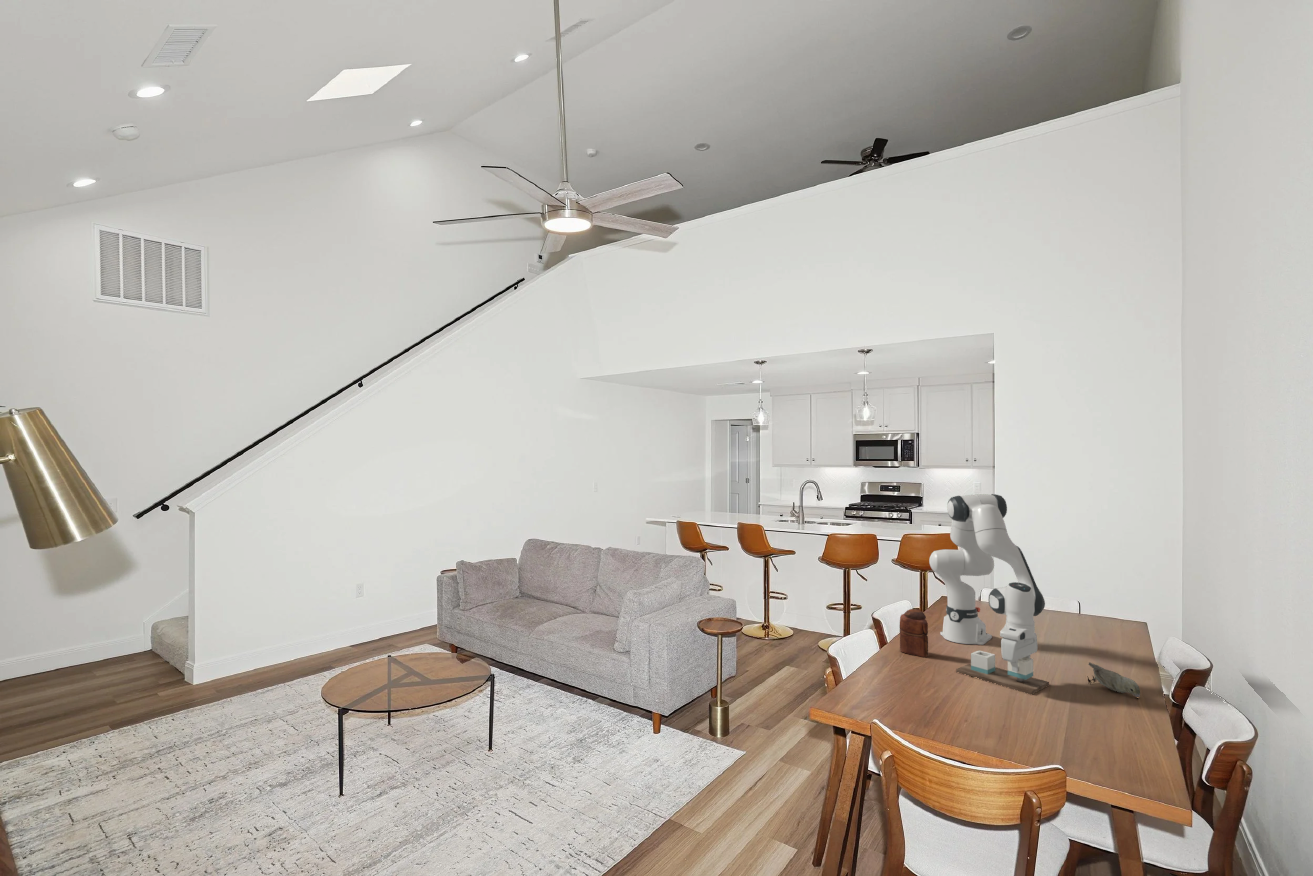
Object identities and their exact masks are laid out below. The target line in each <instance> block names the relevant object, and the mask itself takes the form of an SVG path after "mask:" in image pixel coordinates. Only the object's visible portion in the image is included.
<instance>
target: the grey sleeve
mask: <svg viewBox="0 0 1313 876" xmlns="http://www.w3.org/2000/svg"><path fill="white" fill-rule="evenodd" d="M983 655H984V656H983ZM970 663H971V670H974V671H978V672H981V673H985V674H989V673H992V672H994V671H995V667H996V654H994V653H991V652H987V651H984V650H980V649H979V650H976V651H973V652H971V653H970Z"/></svg>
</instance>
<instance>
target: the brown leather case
mask: <svg viewBox="0 0 1313 876" xmlns="http://www.w3.org/2000/svg"><path fill="white" fill-rule="evenodd" d="M928 635H929V624H928V620H927V616H926V615H925V613H924V612H923V611H921V610H920V609H915V608H910V609H907V610H906V611H905V612H904V613H901V615H900V618H899V651H900V652H901V653H904V654H908V655H912V656H917V657H922V658H928V657H929V656H928V655H929V636H928Z"/></svg>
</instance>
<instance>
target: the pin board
mask: <svg viewBox="0 0 1313 876" xmlns="http://www.w3.org/2000/svg"><path fill="white" fill-rule="evenodd" d="M983 656H984V655H983ZM955 671H956V673H957V672H959V673H958V674H960V673H963V674H962V675H964V674H966V675H965V676H967V675H969V676H968V677H970V676H973V677H972V678H974V677H977V678H979V679H978V680H980V679H982V680H981V681H984V680H985V681H984V682H987V681H989V682H988V683H990V682H992V683H991V684H994V683H996V684H995V685H997V684H998V686H1001V685H1002V686H1001V687H1004V686H1006V687H1005V688H1007V687H1009V688H1008V689H1011V690H1014V689H1015V690H1014V691H1017V690H1018V692H1021V693H1024V692H1025V693H1024V694H1027V693H1028V694H1027V695H1031V694H1032V695H1034V694H1036V693H1038V692H1040V691H1041V690H1043V689H1045V688H1047V687H1049V686H1050V681H1047V680H1044V679H1039V678H1036V677H1034V676H1032V677H1030V678H1028V679H1026V680H1025V679H1022V678H1018V677H1014V676H1011V675H1008V669H1005V668H1004V669H1003V668H1000V667H997V666H995V671H994V672H992V673H989V674H985V673H981V672H978V671H974V670H971V662H970V663H968V664H965V665H963V666H960V667H958V668H956V669H955ZM977 678H976V679H977ZM1048 685H1049V686H1048ZM1046 686H1047V687H1046ZM1044 687H1045V688H1044ZM1039 690H1040V691H1039ZM1037 691H1038V692H1037ZM1035 692H1036V693H1035ZM1033 693H1034V694H1033Z"/></svg>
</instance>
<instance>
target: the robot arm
mask: <svg viewBox="0 0 1313 876" xmlns="http://www.w3.org/2000/svg"><path fill="white" fill-rule="evenodd" d="M946 508H947V514H948V516H949V518H950V519H951V525H950V526H951V527H950V531H949V532H950V533H949V536H950V540H951V541H952V543H953V544H954V545H956V546H957V547H959V548H961V549H948V548H947V549H945V548H944V549H938V550H933V552H931V554H930V556H929V558H928V559H929V560H928V561H929V562H928V563H929V566H930V568H931V570H932V571H933V572H934V573H935V574H937V575H938V576H939V577H940V578H941V579H942V581H943V583H944V585H945V587H946V596H947V597H946V599H947V605H946V608H945V611H946V615H944V616H943V624H942V631H940V632H939V634H940V635H941V636H942V638H944V639H945V640H947V641H948V642H949V641H950V642H953V643H957V644H965V645H979V646H981V645H982V646H983V645H985V644H986V643H988V642H989V641H990V640H991V639H992V638H993V635H992V634H990V633H988V632H987V628H986V627H987V625H986V623H985V622H984V621H983V620H982V619H981V618H980V617H979V615H978V613H980V612H981V607H978V606H976V590H975V589H974V587H972V586H971V585H970V584H968V583H966V582H965V581H962V580H961V576H962V577H963V576H965V577H966V576H967V577H968V576H970V577H972V576H973V577H981V576H988V575H990V574H991V573H992V572H993V571H994V569H995V560H994V559H993V558H996V559H999V560H1000V561H1003V562H1005V563H1007V564H1008V565H1009V566H1010V567H1011V569H1013V573H1014V575H1015V577H1016V580H1017V581H1018V582H1014V581H1013V582H1009V583H1007V584H1006V586H1002V587H997V588H993V589H991V591H990V592H989V594H988V605H989V607H990V609H991V610H992V611H993V612H995V613H996V614H998V615H999V614H1000V615H1005V624H1004V626H1003V627H1002V629H1001V630H1000V631H999V636H1000V637H1001V640H1000V646H1001V647H1000V649H1001V650H1000V651H1001V657H1002V659H1003V661H1006V662H1008V661H1009V662H1010V663H1011V665H1012V671H1014V672H1018V671H1019V666H1018V660H1019V659H1022V658H1024V657H1028V658H1031V655H1033V654H1035V653H1037V652H1038V634H1037V633H1036V632H1035V630H1036V629H1035V628H1036V627H1035V625H1036V621H1035V619H1034V617H1036V616H1037V617H1038V615H1040V614H1041V613H1043V611H1044V609H1045V607H1046V602H1045V601H1046V600H1045V597H1044V595H1043V594H1042V591H1041V590H1040V589H1039V586H1037V584H1036V580H1035V578H1034V576H1033V575H1032V574H1033V573H1032V571H1031V568H1030V567H1029V564H1028V562H1027V560H1026V557H1025V555H1024V553H1023V551H1022V549H1021V548H1020V547H1019V546H1017V544H1015V543H1014V542H1013V540H1012V539H1011V538H1010V536H1009V533H1008V531H1007V527H1006V523H1005V519H1004V518H1005V517H1006V515H1007V513H1008V506H1007V502H1006V499H1004V497H1003V496H1002V495H999V494H995V493H991V494H985V493H983V494H982V493H980V494H979V493H974V494H967V495H954V496H952V497H950V498H949V499H948V502H947V506H946Z"/></svg>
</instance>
